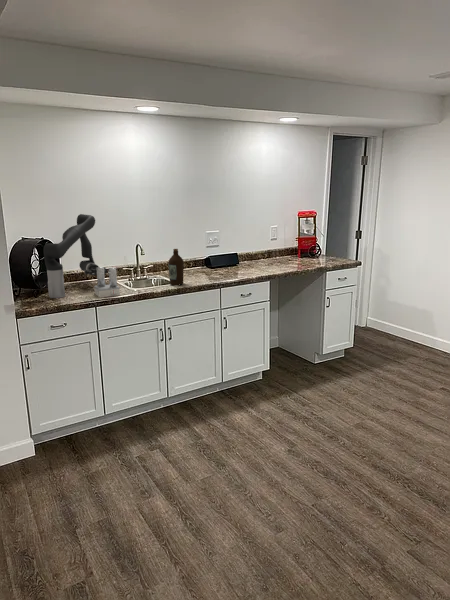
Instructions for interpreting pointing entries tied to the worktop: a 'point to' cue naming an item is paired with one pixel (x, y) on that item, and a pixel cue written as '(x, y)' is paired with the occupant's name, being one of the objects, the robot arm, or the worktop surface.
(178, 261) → the olive oil
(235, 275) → the worktop surface
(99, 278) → the spacer
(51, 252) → the robot arm
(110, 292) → the scale
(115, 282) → the spacer on scale
